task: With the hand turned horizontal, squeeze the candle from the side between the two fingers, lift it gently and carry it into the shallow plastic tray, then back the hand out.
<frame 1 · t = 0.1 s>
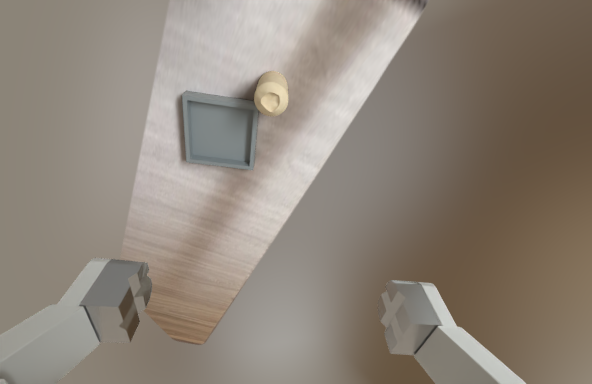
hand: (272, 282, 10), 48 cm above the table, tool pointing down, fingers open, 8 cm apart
candle: (273, 86, 52), on the table
serving tray: (223, 130, 56), on the table
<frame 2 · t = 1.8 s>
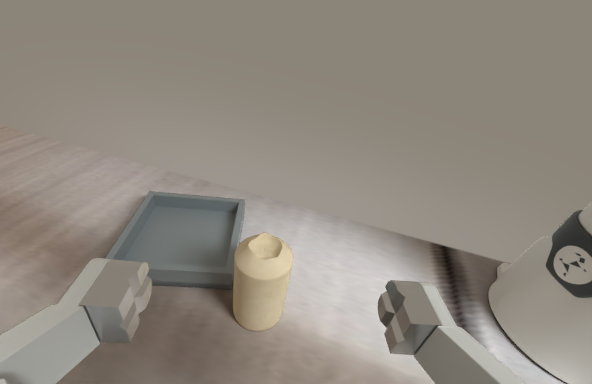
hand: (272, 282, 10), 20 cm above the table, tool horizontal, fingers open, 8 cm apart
candle: (258, 308, 31), on the table
serving tray: (187, 242, 37), on the table
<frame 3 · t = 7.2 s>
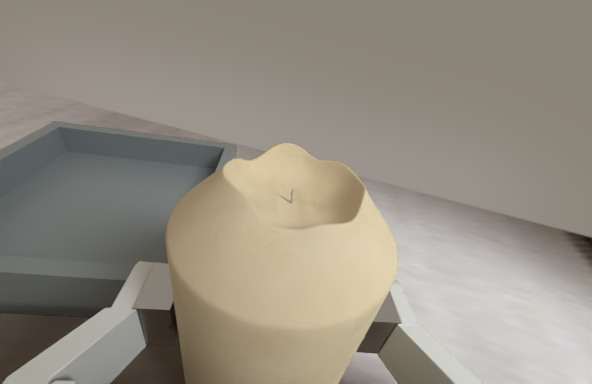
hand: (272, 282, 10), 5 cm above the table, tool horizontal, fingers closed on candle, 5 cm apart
candle: (258, 379, 12), on the table, touching gripper
serving tray: (112, 215, 18), on the table
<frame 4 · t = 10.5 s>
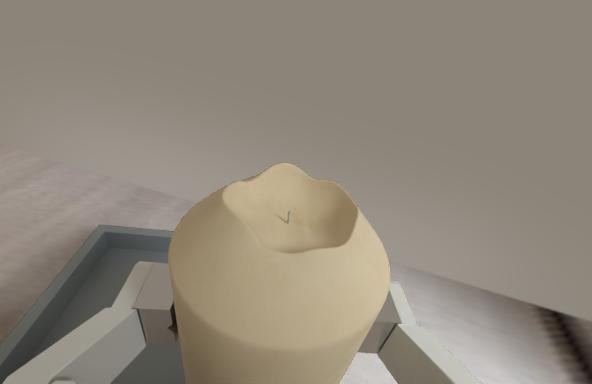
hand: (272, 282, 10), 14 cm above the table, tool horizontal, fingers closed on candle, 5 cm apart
serving tray: (153, 317, 22), on the table
when the fingers open (7 cm above the table, at t = 13.9 s): candle stays where it is, resting on serving tray.
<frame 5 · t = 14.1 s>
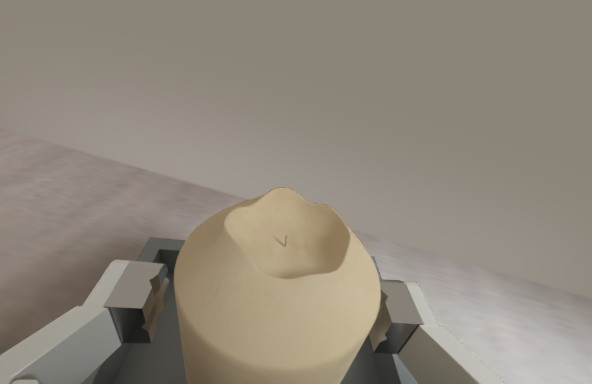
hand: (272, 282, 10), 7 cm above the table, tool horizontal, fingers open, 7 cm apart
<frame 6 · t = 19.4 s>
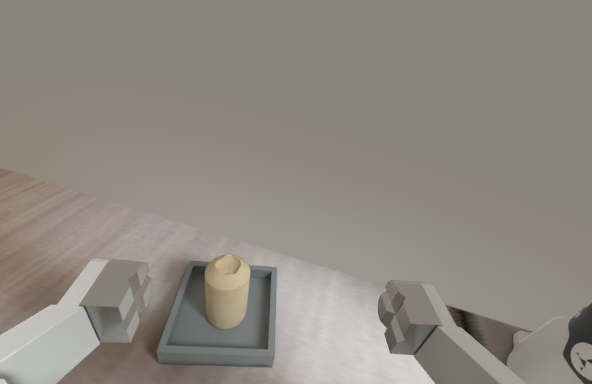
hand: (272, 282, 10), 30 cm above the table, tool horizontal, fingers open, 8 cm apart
candle: (226, 312, 39), point 1 cm above the table, touching serving tray
serving tray: (226, 314, 40), on the table
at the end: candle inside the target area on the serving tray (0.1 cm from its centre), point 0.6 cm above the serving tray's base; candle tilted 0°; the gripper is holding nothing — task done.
